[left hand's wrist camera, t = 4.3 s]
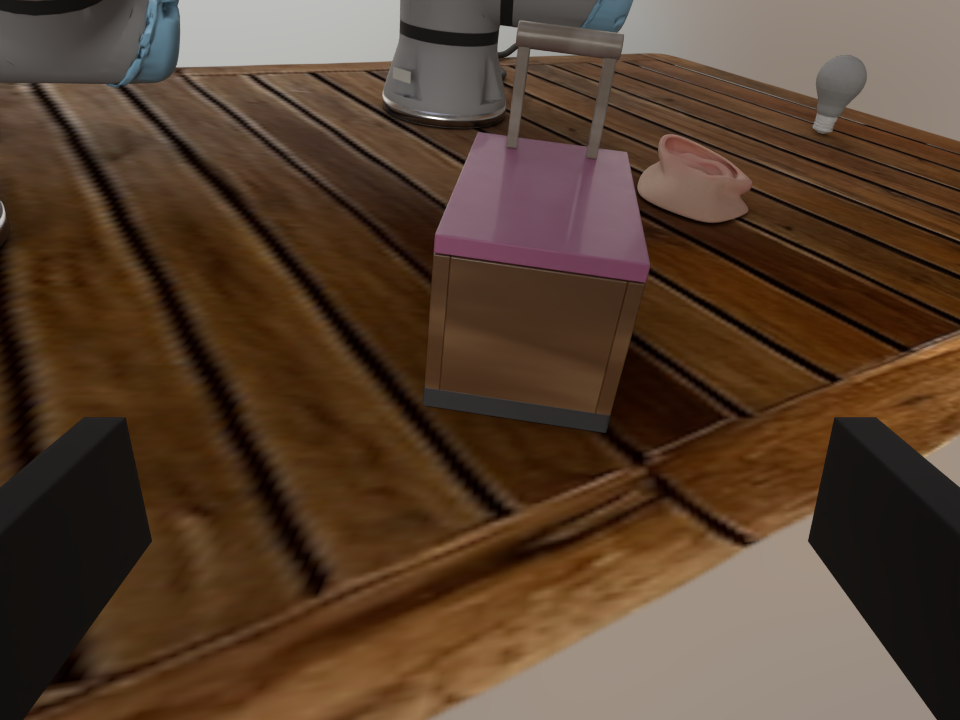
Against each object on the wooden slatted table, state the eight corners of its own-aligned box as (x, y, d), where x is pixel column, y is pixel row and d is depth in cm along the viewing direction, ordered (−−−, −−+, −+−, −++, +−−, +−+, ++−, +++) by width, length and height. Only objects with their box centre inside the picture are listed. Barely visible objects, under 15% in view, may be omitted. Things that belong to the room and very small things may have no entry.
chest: (463, 272, 51) (474, 150, 46) (598, 291, 50) (625, 171, 45) (423, 405, 37) (433, 254, 32) (606, 433, 37) (645, 284, 32)
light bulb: (803, 135, 93) (832, 56, 87) (794, 123, 98) (821, 48, 92) (848, 141, 92) (880, 63, 87) (837, 129, 97) (867, 54, 92)
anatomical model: (752, 190, 60) (625, 159, 63) (737, 232, 62) (616, 200, 66) (770, 153, 70) (661, 128, 73) (757, 190, 72) (652, 164, 76)
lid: (476, 146, 46) (489, 10, 42) (624, 166, 46) (654, 32, 41) (433, 253, 32) (445, 67, 28) (645, 283, 32) (694, 100, 27)
